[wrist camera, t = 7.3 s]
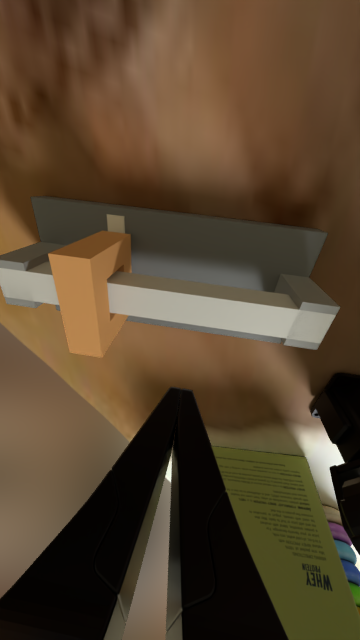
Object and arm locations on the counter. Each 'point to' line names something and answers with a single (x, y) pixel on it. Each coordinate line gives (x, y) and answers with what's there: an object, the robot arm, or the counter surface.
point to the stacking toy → (344, 551)
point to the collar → (90, 289)
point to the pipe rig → (186, 271)
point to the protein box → (290, 543)
